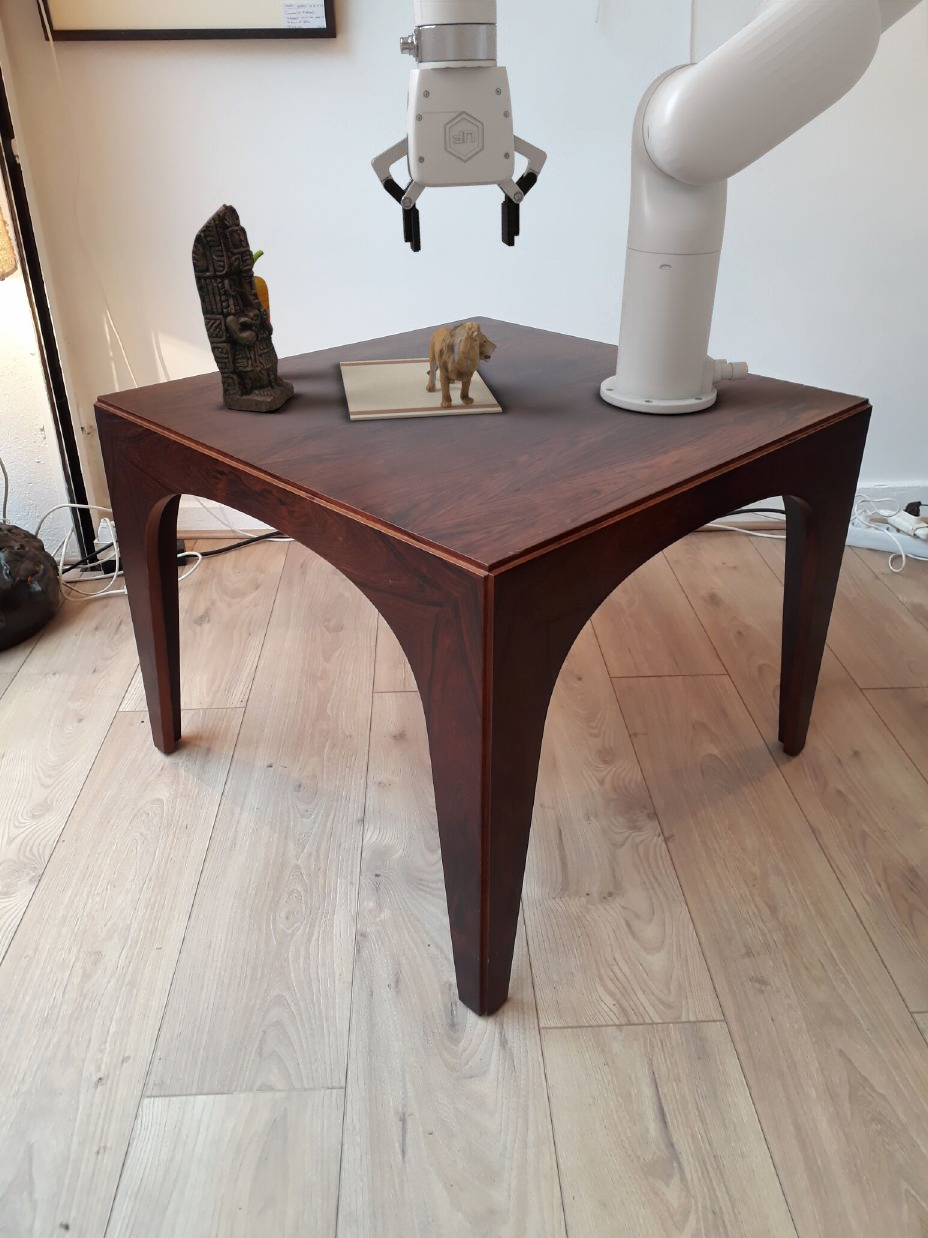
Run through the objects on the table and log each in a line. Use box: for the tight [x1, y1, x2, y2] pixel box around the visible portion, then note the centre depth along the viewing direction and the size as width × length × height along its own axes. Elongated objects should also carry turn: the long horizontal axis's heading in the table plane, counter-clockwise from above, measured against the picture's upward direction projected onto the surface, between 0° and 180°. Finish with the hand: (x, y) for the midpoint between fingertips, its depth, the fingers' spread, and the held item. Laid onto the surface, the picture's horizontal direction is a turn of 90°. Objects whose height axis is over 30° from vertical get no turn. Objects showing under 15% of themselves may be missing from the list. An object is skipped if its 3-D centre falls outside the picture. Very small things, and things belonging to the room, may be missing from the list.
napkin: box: [339, 357, 503, 422], centre depth 105 cm, size 16×22×1 cm
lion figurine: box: [426, 321, 497, 408], centre depth 98 cm, size 15×5×9 cm, turn 23°
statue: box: [191, 203, 295, 412], centre depth 94 cm, size 7×7×20 cm
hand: (462, 247), depth 93 cm, fingers open, 9 cm apart
